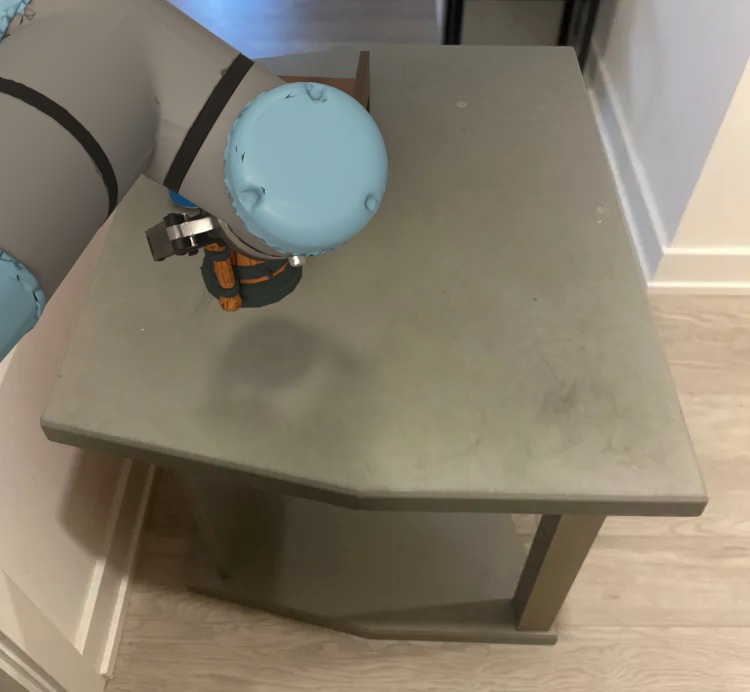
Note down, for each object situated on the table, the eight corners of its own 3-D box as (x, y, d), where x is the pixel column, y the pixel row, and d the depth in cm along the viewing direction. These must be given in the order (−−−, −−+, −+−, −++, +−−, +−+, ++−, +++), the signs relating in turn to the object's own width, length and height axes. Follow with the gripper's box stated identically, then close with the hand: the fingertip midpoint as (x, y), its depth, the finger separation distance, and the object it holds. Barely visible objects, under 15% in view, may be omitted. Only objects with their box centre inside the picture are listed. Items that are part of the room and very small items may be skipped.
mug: (217, 228, 75) (197, 131, 65) (316, 241, 73) (309, 144, 64) (174, 326, 67) (143, 230, 57) (284, 341, 66) (271, 247, 56)
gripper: (115, 305, 45) (135, 298, 67) (445, 216, 50) (365, 236, 72) (76, 184, 44) (109, 217, 66) (418, 105, 49) (344, 159, 71)
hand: (243, 227), depth 69 cm, fingers closed on mug, 10 cm apart
